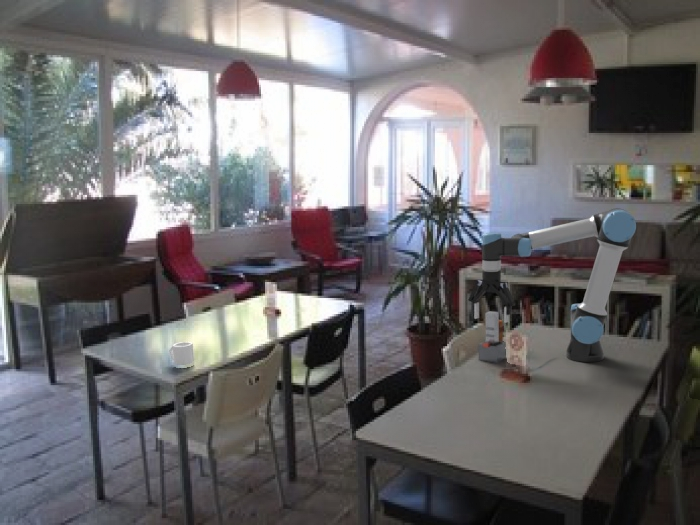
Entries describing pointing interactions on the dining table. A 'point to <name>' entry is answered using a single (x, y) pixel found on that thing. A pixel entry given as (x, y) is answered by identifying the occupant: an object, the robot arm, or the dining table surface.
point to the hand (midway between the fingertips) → (491, 320)
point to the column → (492, 328)
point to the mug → (501, 330)
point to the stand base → (492, 352)
